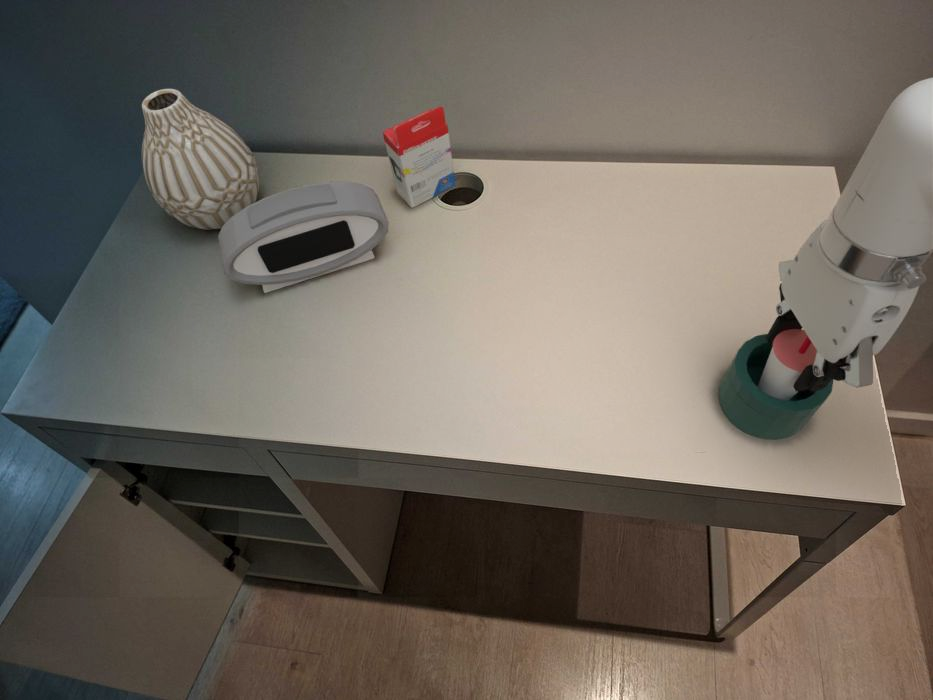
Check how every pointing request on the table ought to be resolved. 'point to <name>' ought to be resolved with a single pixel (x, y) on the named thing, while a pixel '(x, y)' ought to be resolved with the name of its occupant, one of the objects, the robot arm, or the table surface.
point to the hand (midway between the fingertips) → (794, 360)
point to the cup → (786, 363)
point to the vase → (195, 162)
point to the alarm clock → (302, 234)
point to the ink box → (421, 156)
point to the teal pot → (764, 396)
